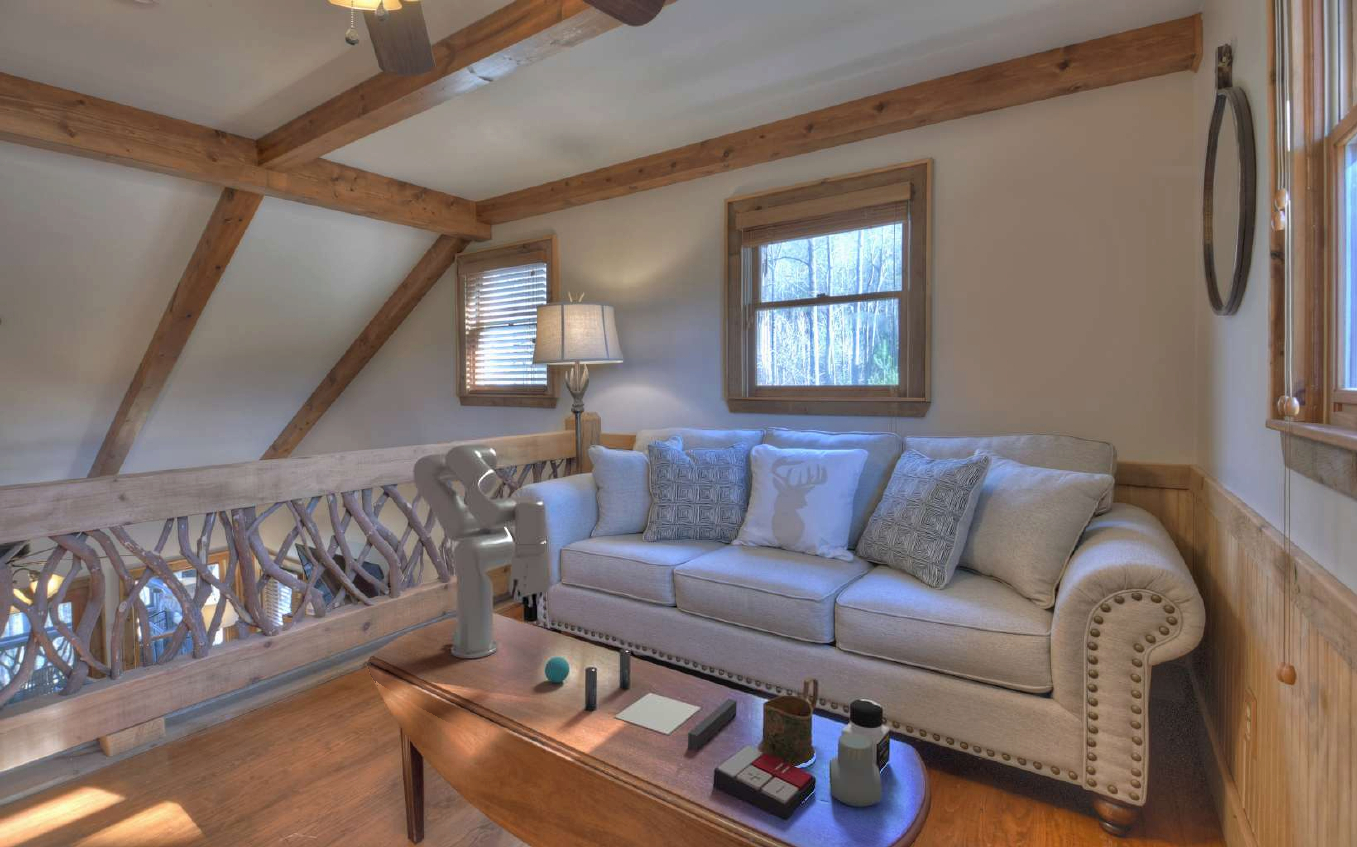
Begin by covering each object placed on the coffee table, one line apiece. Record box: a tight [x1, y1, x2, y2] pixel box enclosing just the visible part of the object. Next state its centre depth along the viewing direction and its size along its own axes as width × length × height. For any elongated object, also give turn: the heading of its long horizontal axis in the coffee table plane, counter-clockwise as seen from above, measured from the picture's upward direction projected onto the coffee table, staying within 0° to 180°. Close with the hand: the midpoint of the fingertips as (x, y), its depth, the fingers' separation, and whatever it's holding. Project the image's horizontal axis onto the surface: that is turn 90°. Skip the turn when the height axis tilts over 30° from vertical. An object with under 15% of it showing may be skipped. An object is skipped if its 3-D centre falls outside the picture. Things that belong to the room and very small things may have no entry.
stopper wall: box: [687, 698, 738, 751], centre depth 136 cm, size 2×18×3 cm, turn 149°
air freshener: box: [829, 733, 883, 807], centre depth 113 cm, size 11×8×10 cm
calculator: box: [712, 745, 817, 821], centre depth 115 cm, size 11×4×15 cm
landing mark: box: [613, 692, 702, 736], centre depth 143 cm, size 14×14×1 cm
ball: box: [544, 656, 570, 684], centre depth 159 cm, size 6×6×6 cm
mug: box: [757, 677, 819, 766], centre depth 129 cm, size 12×18×12 cm, turn 140°
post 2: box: [619, 648, 632, 691], centre depth 156 cm, size 3×3×9 cm
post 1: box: [584, 666, 598, 712], centre depth 145 cm, size 3×3×9 cm
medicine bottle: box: [840, 698, 891, 772], centre depth 123 cm, size 7×7×12 cm
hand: (530, 620), depth 163 cm, fingers closed
